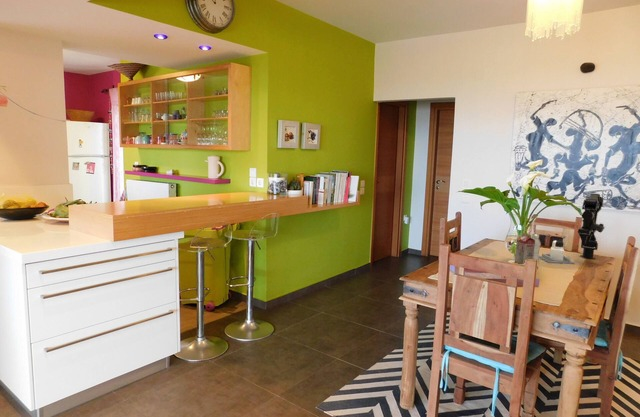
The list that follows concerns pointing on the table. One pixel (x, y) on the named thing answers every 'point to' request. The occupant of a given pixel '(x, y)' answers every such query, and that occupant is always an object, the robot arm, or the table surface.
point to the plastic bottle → (536, 246)
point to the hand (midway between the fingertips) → (585, 243)
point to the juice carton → (524, 248)
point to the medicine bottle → (557, 251)
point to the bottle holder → (548, 259)
